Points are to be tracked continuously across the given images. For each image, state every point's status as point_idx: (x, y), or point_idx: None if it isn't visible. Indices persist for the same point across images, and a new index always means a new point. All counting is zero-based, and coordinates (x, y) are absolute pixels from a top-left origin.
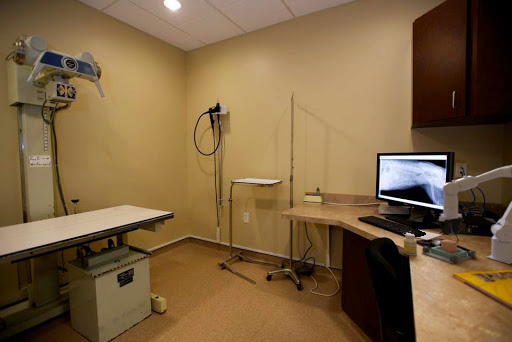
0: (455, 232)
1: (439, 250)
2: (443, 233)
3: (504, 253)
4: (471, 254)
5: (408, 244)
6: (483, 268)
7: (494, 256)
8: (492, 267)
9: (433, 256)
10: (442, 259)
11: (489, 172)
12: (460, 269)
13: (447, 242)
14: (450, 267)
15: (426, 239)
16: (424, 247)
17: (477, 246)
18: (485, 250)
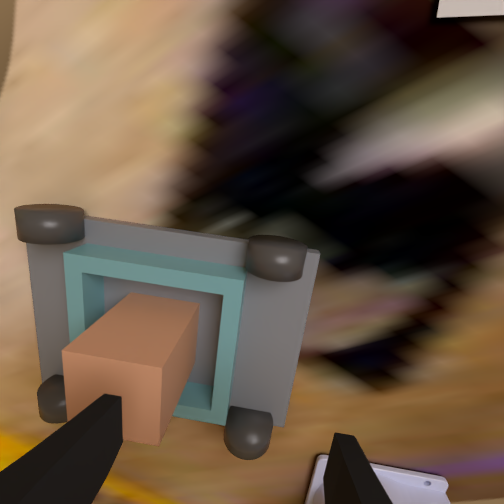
0: (329, 461)
1: (70, 317)
2: (93, 407)
3: None
4: (224, 435)
5: None
6: (137, 469)
7: (321, 498)
8: (187, 487)
9: (34, 289)
10: (40, 340)
11: None
12: (27, 419)
13: (74, 404)
14: (4, 388)
15: (452, 3)
16: (17, 220)
17: None
18: (485, 420)
